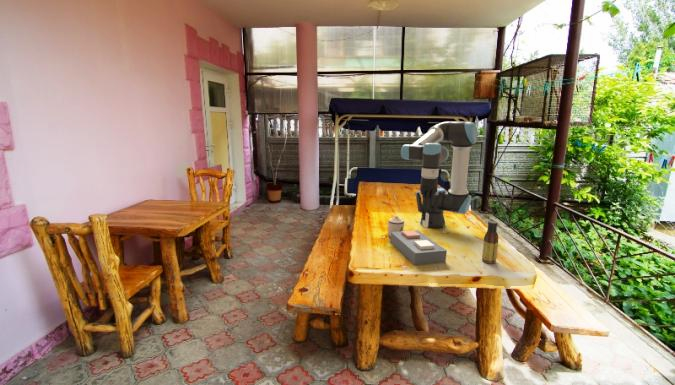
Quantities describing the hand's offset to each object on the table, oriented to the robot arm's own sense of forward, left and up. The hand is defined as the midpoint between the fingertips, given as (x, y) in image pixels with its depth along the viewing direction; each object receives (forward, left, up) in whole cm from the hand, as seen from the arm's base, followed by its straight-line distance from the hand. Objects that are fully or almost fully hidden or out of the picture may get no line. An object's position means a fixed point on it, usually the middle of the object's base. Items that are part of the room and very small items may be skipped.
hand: (425, 226), depth 151 cm
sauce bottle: (-29, +10, -16) cm, 35 cm away
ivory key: (0, 0, -12) cm, 12 cm away
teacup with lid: (0, -32, -16) cm, 36 cm away
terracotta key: (0, -14, -12) cm, 19 cm away
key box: (0, -7, -16) cm, 17 cm away
